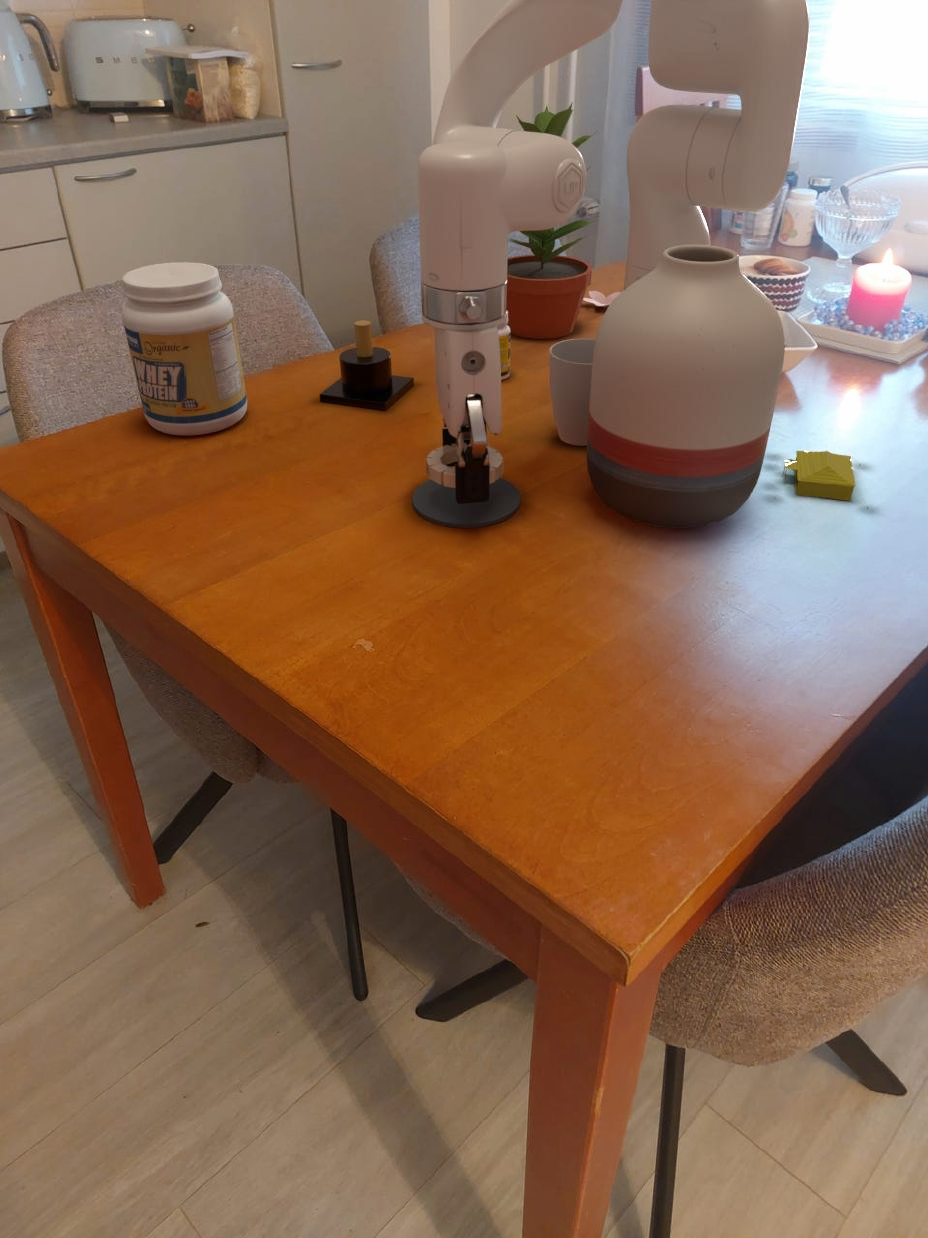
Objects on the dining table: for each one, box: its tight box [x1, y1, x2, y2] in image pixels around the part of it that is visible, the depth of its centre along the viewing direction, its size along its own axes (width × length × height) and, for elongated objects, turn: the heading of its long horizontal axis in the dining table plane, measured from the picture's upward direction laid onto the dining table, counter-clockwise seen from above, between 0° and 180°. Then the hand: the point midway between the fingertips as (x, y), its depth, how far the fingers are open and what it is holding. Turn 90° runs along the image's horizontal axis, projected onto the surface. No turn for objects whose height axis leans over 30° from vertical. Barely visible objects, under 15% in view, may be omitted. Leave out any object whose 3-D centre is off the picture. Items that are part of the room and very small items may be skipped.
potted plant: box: [506, 102, 599, 340], centre depth 126 cm, size 15×15×30 cm
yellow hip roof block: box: [773, 450, 869, 510], centre depth 92 cm, size 10×9×3 cm
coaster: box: [411, 477, 522, 529], centre depth 90 cm, size 11×11×1 cm
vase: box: [586, 244, 786, 529], centre depth 83 cm, size 17×17×24 cm
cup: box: [549, 338, 596, 447], centre depth 100 cm, size 8×8×10 cm
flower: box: [583, 289, 623, 307], centre depth 143 cm, size 10×10×2 cm
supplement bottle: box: [497, 310, 512, 381], centre depth 116 cm, size 5×5×8 cm
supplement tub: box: [121, 261, 248, 437], centre depth 103 cm, size 12×12×17 cm
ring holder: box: [319, 319, 415, 411], centre depth 111 cm, size 9×9×9 cm
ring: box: [425, 443, 504, 488], centre depth 88 cm, size 7×7×1 cm
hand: (465, 481), depth 89 cm, fingers closed on ring, 7 cm apart
